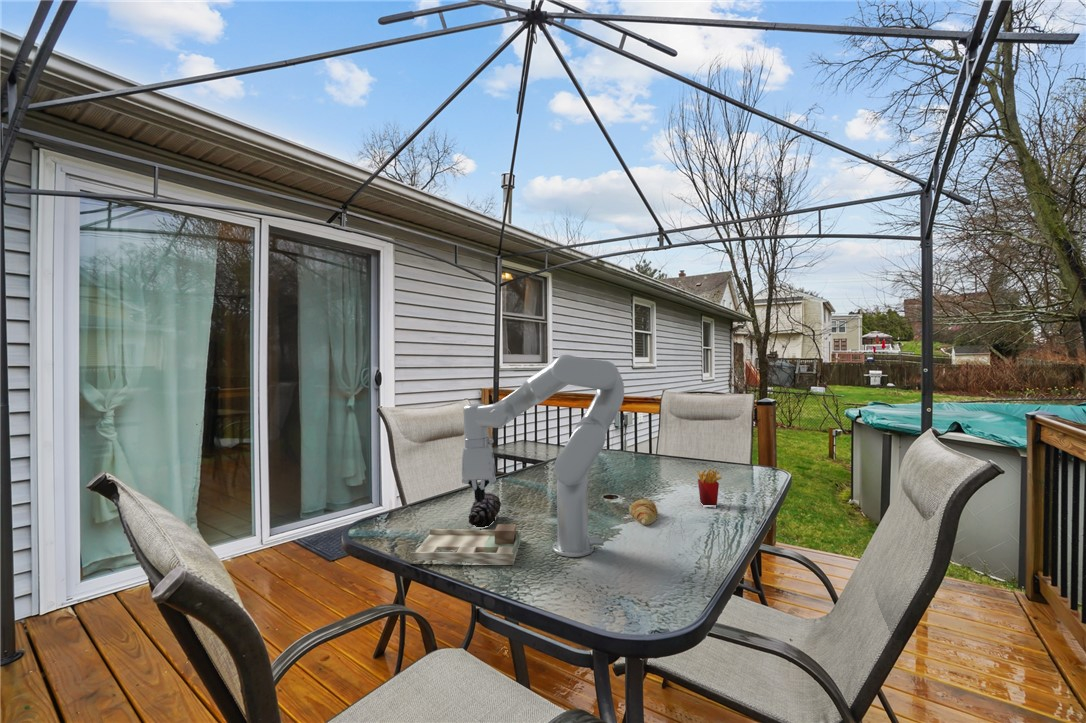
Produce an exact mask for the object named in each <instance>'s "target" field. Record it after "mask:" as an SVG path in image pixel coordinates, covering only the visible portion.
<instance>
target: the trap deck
mask: <svg viewBox="0 0 1086 723" xmlns="http://www.w3.org/2000/svg"><path fill="white" fill-rule="evenodd" d="M521 531H522V530H521V529H516V539H515V542H514V544H495V529H481V530H472V529H461V528H460V529H458V528H457V529H453V528H452V529H450V528H449V529H448V528H447V529H446V528H445V529H443V528H442V529H441V528H440V529H439V528H435V529H431V528H429V535H428V536H427V537H426V538H425V539H424V540H423V542H422V543H421V544H420V545H419V547H418V548H417V549H416V550H415V551H410V552H409V557H410V558H409V560H410V559H417V560H439V561H440V560H441V561H450V562H465V563H466V562H467V563H479V564H494V565H495V564H497V565H513V566H514V565H515V562H516V559H517V555H518V552H519V549H518V548H520V544H521V542H522V538H521V537H522V532H521ZM437 549H446V550H458V551H457V552H436V550H437ZM476 552H488V553H476ZM489 552H490V553H489ZM515 558H516V559H515ZM514 561H515V562H514Z"/></svg>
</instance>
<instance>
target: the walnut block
mask: <svg viewBox="0 0 1086 723" xmlns="http://www.w3.org/2000/svg"><path fill="white" fill-rule="evenodd" d="M494 530H495V544H514V542H515V539H516V530H517V524H515V523H514V524H513V523H511V524H509V523H508V524H505V523H504V524H503V523H497V524H496V527H495V529H494Z"/></svg>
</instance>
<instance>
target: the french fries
mask: <svg viewBox="0 0 1086 723" xmlns="http://www.w3.org/2000/svg"><path fill="white" fill-rule="evenodd" d="M697 474H698V478H699V479H697V483H698V494H699V502H701V503H702V504H703V505H717V506H718V499H719V498H718V496H719V495H718V494H719V488H720V487H719V486H720V484H719V482H718V481H719V480H721V479H722V476H721V475H719V474H720V471H718V470H717V469H716V470H712V469H711V468H709V469H708V470H707V469H704V470H703V471H700V470H698V471H697ZM717 475H718V476H717ZM701 503H700V504H701Z"/></svg>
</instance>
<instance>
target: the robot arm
mask: <svg viewBox="0 0 1086 723" xmlns="http://www.w3.org/2000/svg"><path fill="white" fill-rule="evenodd" d="M568 385H570V386H575V387H582V388H588V389H595V390H596V393H595V395H594V397H593V399H592V400H591V403H590V404H589V406H588V408H587V410H586V412H585V413H584V414H583V416H582V418H581V419H580V421H578V422H577V424H576V426H575V428H574V430H573V432H572V434H571V436H570V437H569V439H568V441H567V442H566V444H565V446H564V447H563V449H561V451H560V452H559V453H558V454H557V457H556V459H555V461H554V465H553V466H554V467H553V469H554V475H555V477H556V497H557V498H556V508H557V509H556V510H557V511H556V515H557V516H556V517H557V519H556V520H557V526H556V527H557V528H556V529H557V541H555V542H554V543H553V544H552V552H554V553H555V554H557V555H559V556H562V557H567V558H581V557H585V556H588V555H590V554H591V553H593V552H594V549H595V548H594V547H595V545H596V546H604V538H600V536H592V535H590V531H589V487H588V486H589V484H588V483H589V482H588V480H589V478H588V477H589V475H588V473H589V471H590V470H591V468H592V466H593V465H594V463H595V462H596V460H597V458H598V456H599V455H600V453H601V452H602V450H603V448H604V445H605V442H606V439H607V433H608V431H609V429H610V427H611V426H612V424H613V422H614V421H615V419H616V416H617V415H618V414H619V411H620V409H621V407H622V405H623V402H624V398H625V384H624V381H623V378H622V375H621V374H620V371H619V369H618V367H617V366H616V364H614V363H613V362H611V361H608V360H600V359H593V358H587V357H581V356H575V355H572V354H562V355H560V356H558V357H557V358H555V359H554V361H552V362H551V363H549V364H548V365H546V366H545V367H543V368H542V369H540V370H539V371H538V372H536V373H534V374H533V375H531V376H530V377H529V378H527V379H525V381H524V383H522V385H521V386H519V387H518V388H517V389H516V390H513V391H512V392H511V393H510V394H508V395H507V396H505V397H504V398H502V399H500V400H499V401H497V402H495V403H491V404H484V403H471V404H467V405H465V406H464V407H463V429H464V446H465V447H464V448H463V450H462V456H461V477H462V480H461V483H462V484H464V485H469V486H470V487H471V488H472V489H473V490H474V492H473V493H474V500H475V499H476V500H477V503H478V502H482V501H483V499H485V493H486V491H485V489H486V487H487V486H488V485H489V484H493V483H496V481H497V478H496V464H495V462H496V461H495V456H494V451H493V446H492V445H490V444H494V438H490V436H489V428H493V429H494V428H495V429H497V428H502V427H505V426H506V425H507V424H509V423H511V421H513V420H514V419H515V418H517V417H519V416H521V414H523V413H525V412H526V411H528V410H529V409H531V408H533V407H534V406H536V405H539V404H541V403H543V402H544V401H547V399H549V398H550V397H552V396H553V395H555V394H556V393H558V392H559V391H561V390H562V389H564V388H565V387H567V386H568ZM479 481H480V485H479Z"/></svg>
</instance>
